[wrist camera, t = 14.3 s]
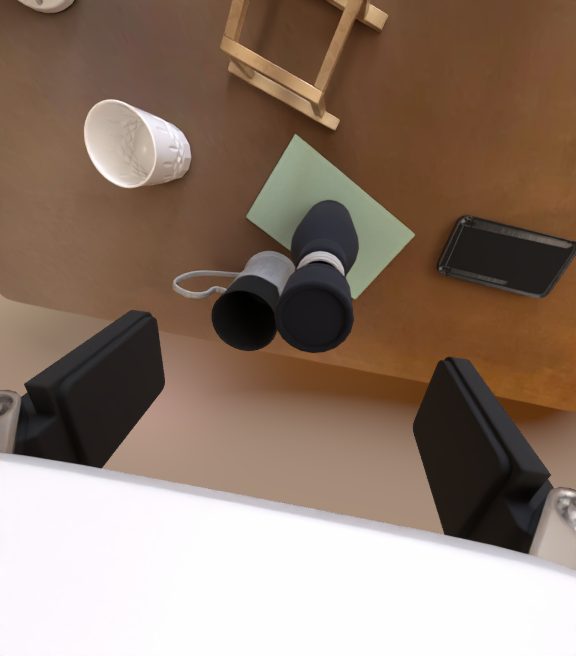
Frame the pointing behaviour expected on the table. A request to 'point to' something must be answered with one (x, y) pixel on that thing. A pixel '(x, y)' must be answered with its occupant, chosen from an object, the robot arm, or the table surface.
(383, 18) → the bottle stand
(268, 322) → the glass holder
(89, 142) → the white cup
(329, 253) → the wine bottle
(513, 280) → the phone
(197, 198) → the table surface
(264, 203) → the mat
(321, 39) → the table surface
